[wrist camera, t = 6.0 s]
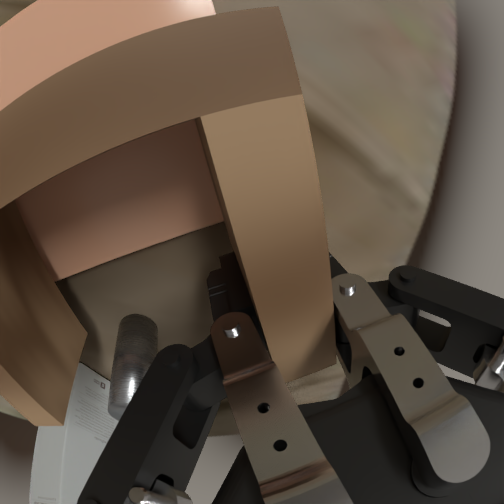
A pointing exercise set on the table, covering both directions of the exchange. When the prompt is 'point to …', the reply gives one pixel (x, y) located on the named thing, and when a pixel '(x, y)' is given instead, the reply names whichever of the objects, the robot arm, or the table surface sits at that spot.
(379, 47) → the table surface
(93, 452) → the skincare box
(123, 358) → the post
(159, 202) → the tile
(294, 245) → the c link
